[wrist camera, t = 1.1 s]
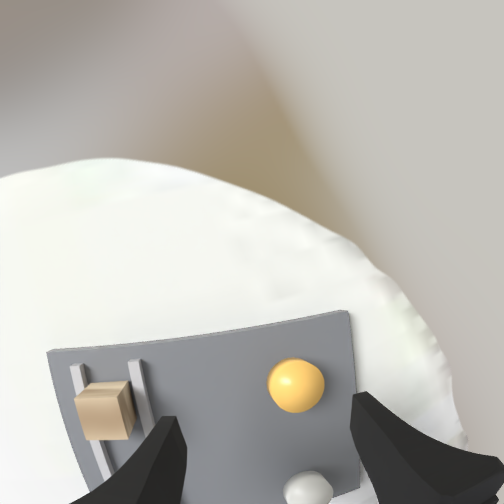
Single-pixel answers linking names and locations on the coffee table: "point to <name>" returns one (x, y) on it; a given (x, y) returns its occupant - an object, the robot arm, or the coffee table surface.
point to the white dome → (307, 489)
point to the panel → (224, 407)
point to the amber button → (295, 384)
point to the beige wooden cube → (106, 410)
